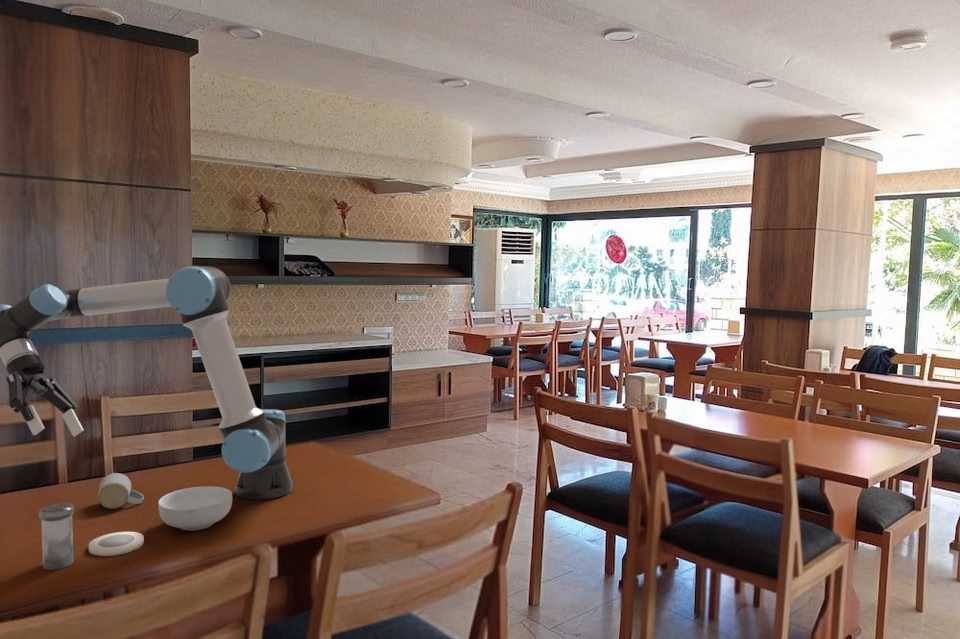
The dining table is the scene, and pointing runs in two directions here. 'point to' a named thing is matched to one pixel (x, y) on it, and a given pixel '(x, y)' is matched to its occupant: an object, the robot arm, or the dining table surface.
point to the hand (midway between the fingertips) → (59, 432)
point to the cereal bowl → (195, 507)
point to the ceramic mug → (117, 491)
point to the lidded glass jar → (57, 535)
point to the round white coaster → (116, 543)
